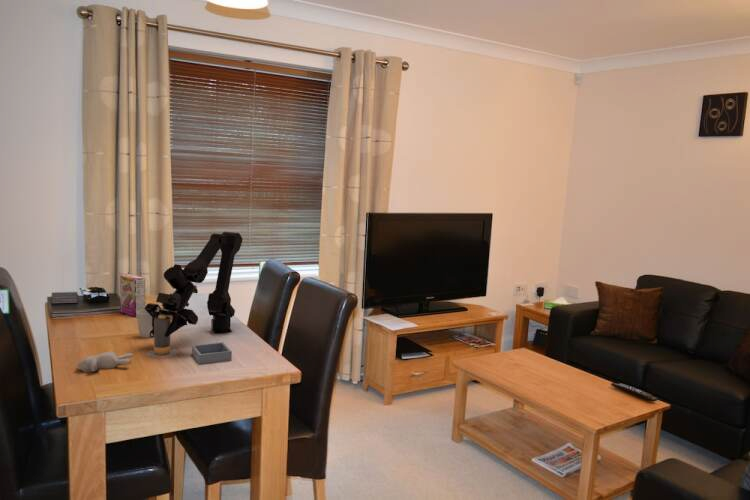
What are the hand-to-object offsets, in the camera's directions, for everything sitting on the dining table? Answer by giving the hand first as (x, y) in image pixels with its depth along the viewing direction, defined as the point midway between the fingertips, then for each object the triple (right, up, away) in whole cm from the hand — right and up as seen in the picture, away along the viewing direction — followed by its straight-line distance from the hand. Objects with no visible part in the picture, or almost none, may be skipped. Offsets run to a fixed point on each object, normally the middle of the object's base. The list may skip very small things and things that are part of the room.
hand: (159, 335), depth 189 cm
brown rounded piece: (-12, -2, +42) cm, 44 cm away
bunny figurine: (-12, -9, -12) cm, 19 cm away
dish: (+17, -8, +1) cm, 19 cm away
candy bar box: (-31, +1, +51) cm, 59 cm away
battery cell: (0, -6, +2) cm, 7 cm away
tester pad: (0, -7, +2) cm, 8 cm away
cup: (-12, -4, +21) cm, 24 cm away
